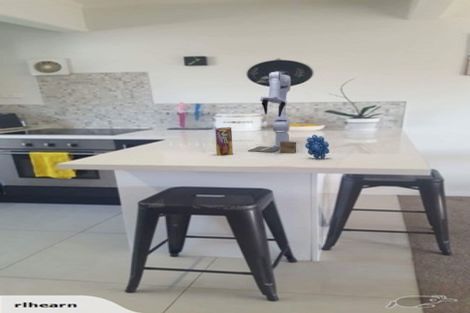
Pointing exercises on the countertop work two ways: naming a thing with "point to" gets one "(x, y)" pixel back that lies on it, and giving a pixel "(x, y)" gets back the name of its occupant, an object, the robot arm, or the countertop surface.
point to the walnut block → (287, 147)
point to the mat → (265, 149)
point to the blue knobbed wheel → (317, 146)
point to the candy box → (224, 141)
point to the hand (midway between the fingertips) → (272, 114)
